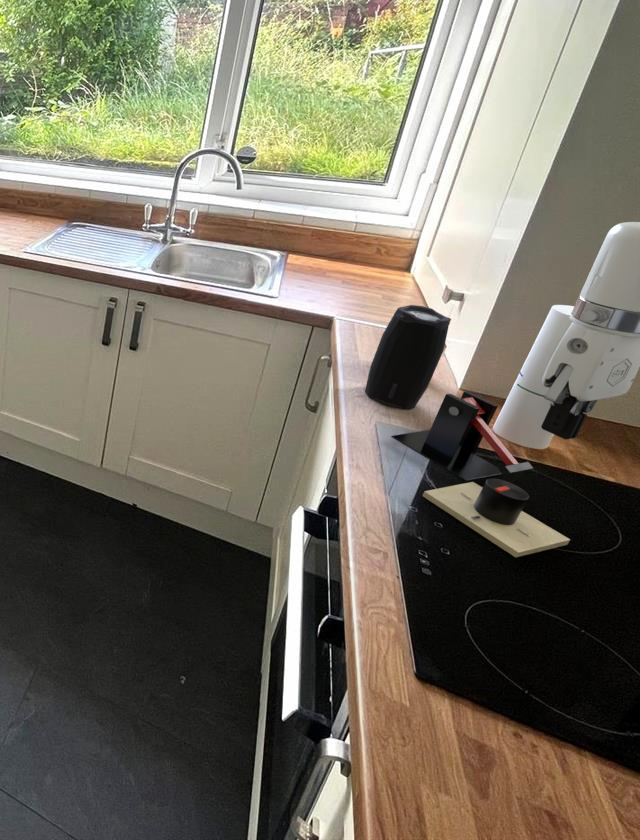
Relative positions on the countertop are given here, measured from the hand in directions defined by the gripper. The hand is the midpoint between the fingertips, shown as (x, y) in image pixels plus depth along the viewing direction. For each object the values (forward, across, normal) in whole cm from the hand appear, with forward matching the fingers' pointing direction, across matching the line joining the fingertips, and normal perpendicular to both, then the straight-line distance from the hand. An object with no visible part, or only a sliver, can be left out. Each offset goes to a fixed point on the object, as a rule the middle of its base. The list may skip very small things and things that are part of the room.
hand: (557, 433), depth 84 cm
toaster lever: (+6, -1, +7) cm, 9 cm away
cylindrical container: (+12, +18, +12) cm, 25 cm away
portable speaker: (+12, +7, +27) cm, 30 cm away
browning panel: (+12, -11, -2) cm, 17 cm away
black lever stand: (+12, -1, +11) cm, 16 cm away
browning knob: (+10, -11, -2) cm, 15 cm away
